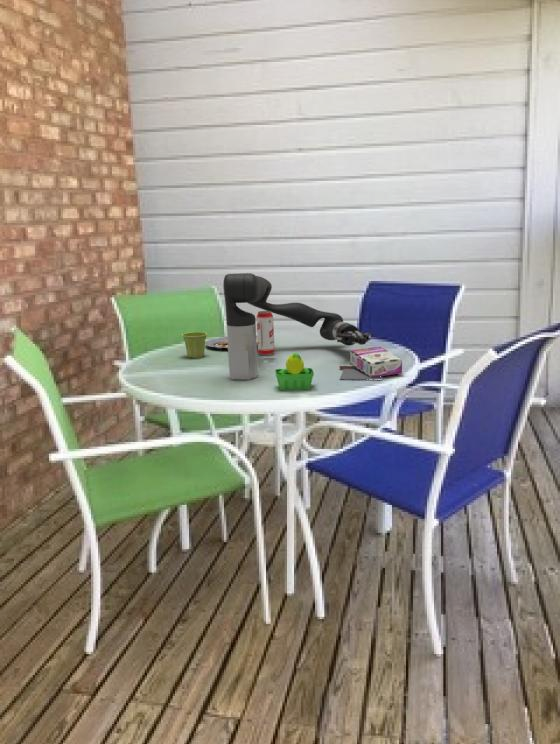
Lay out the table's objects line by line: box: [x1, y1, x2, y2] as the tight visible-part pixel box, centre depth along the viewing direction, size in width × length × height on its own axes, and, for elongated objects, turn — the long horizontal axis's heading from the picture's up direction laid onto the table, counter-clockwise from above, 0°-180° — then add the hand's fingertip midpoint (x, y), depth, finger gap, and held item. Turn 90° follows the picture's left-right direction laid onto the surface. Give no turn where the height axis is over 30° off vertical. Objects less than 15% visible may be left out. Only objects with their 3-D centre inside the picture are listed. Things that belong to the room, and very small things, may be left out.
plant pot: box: [181, 331, 208, 359], centre depth 244 cm, size 9×9×9 cm
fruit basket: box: [274, 352, 315, 391], centre depth 194 cm, size 11×9×11 cm
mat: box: [339, 369, 384, 381], centre depth 208 cm, size 14×13×1 cm
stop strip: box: [339, 365, 357, 371], centre depth 214 cm, size 1×16×1 cm, turn 79°
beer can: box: [256, 310, 275, 356], centre depth 243 cm, size 6×6×16 cm
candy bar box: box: [349, 346, 403, 378], centre depth 210 cm, size 11×5×16 cm
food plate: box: [205, 335, 258, 350], centre depth 264 cm, size 25×23×4 cm
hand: (363, 341), depth 219 cm, fingers closed
